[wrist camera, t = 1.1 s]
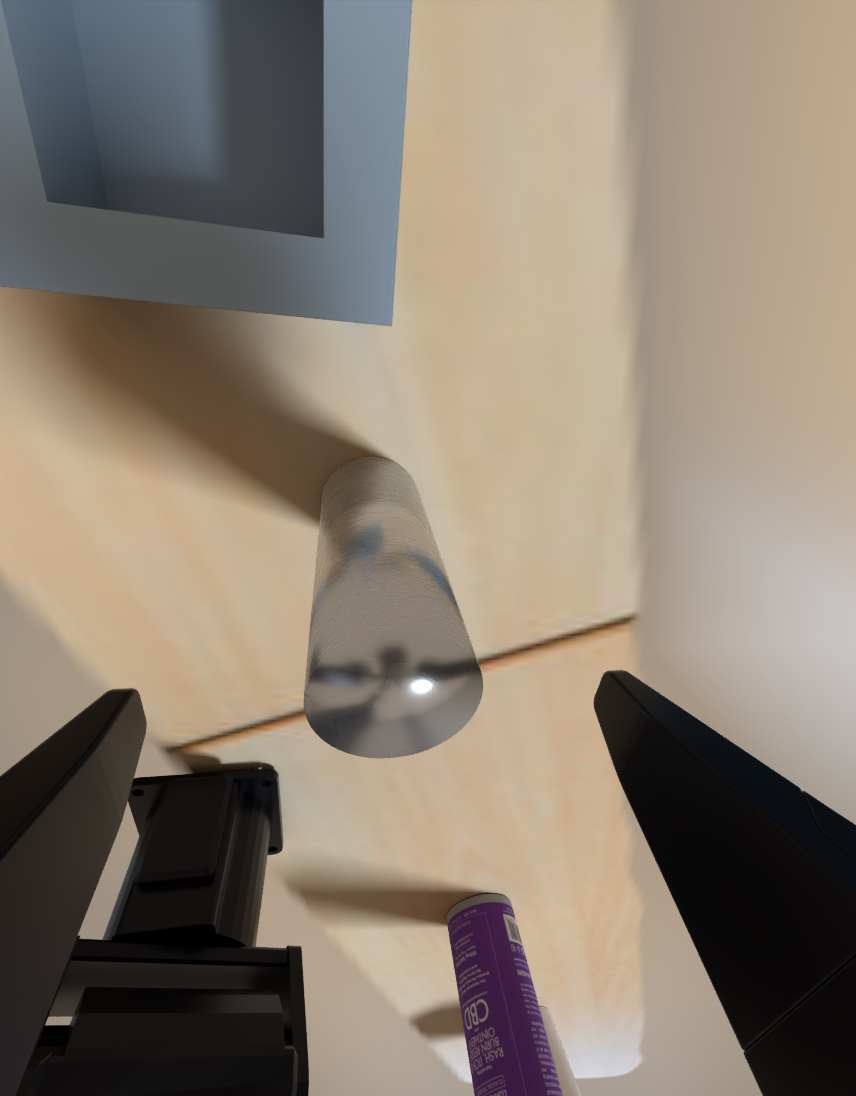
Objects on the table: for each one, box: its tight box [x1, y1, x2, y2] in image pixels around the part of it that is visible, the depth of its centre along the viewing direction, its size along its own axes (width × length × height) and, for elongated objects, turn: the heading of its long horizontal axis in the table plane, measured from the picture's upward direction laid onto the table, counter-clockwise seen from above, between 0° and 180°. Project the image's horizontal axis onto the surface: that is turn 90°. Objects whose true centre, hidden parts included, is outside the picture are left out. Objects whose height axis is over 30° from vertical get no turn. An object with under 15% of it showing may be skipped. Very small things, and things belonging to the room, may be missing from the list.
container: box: [447, 894, 563, 1096], centre depth 27 cm, size 5×5×15 cm
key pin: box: [304, 457, 483, 758], centre depth 13 cm, size 3×3×9 cm
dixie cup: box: [539, 1006, 581, 1096], centre depth 42 cm, size 8×8×10 cm
